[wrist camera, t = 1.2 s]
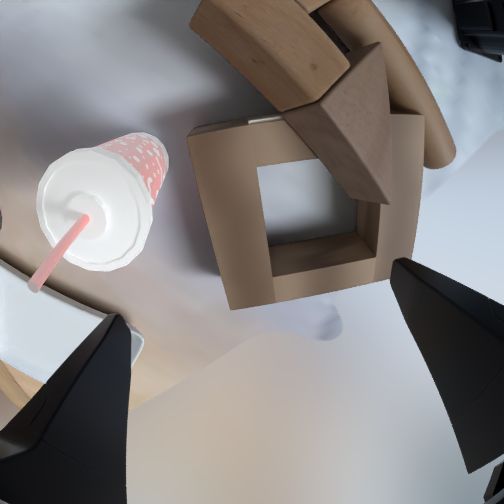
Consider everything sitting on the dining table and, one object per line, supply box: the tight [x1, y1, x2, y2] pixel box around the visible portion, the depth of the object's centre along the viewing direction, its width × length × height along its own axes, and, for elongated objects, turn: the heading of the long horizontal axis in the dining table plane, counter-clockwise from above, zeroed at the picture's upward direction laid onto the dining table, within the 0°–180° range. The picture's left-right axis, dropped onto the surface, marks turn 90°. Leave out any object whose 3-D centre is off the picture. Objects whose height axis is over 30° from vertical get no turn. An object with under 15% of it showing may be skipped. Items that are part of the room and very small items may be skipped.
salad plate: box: [0, 259, 144, 384], centre depth 27 cm, size 21×21×3 cm
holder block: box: [186, 109, 425, 310], centre depth 20 cm, size 15×13×4 cm
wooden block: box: [189, 0, 456, 205], centre depth 14 cm, size 4×11×18 cm
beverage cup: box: [27, 132, 169, 293], centre depth 13 cm, size 6×6×14 cm
